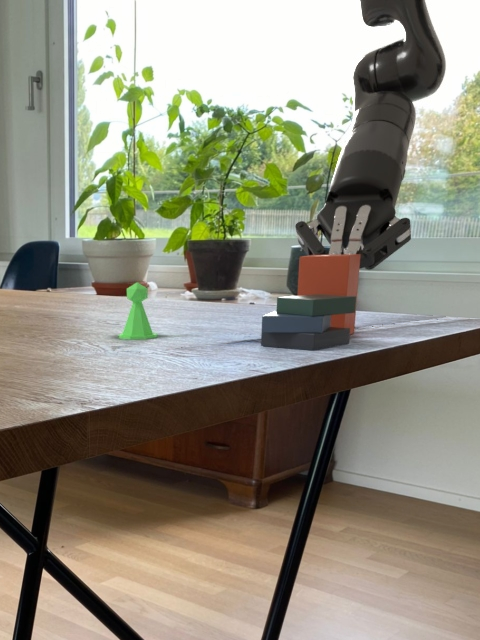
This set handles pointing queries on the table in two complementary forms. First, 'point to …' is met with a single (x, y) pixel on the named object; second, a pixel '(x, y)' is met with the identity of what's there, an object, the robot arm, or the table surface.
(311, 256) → the tall orange pillar
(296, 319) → the block pile
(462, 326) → the table surface
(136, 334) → the game piece
